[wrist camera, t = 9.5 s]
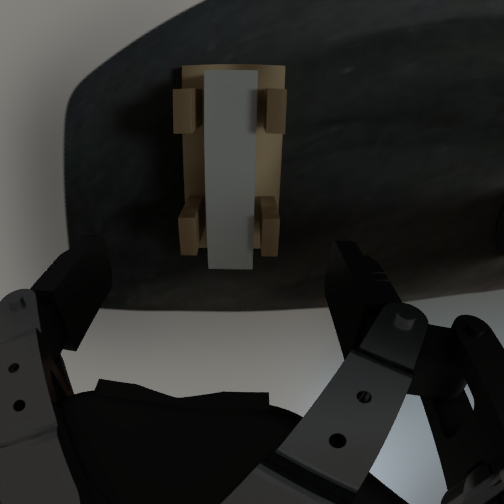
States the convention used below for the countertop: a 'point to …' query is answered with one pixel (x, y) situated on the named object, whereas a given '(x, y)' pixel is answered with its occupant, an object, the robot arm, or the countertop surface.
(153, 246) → the countertop surface
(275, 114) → the rack
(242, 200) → the clay bar
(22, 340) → the robot arm
